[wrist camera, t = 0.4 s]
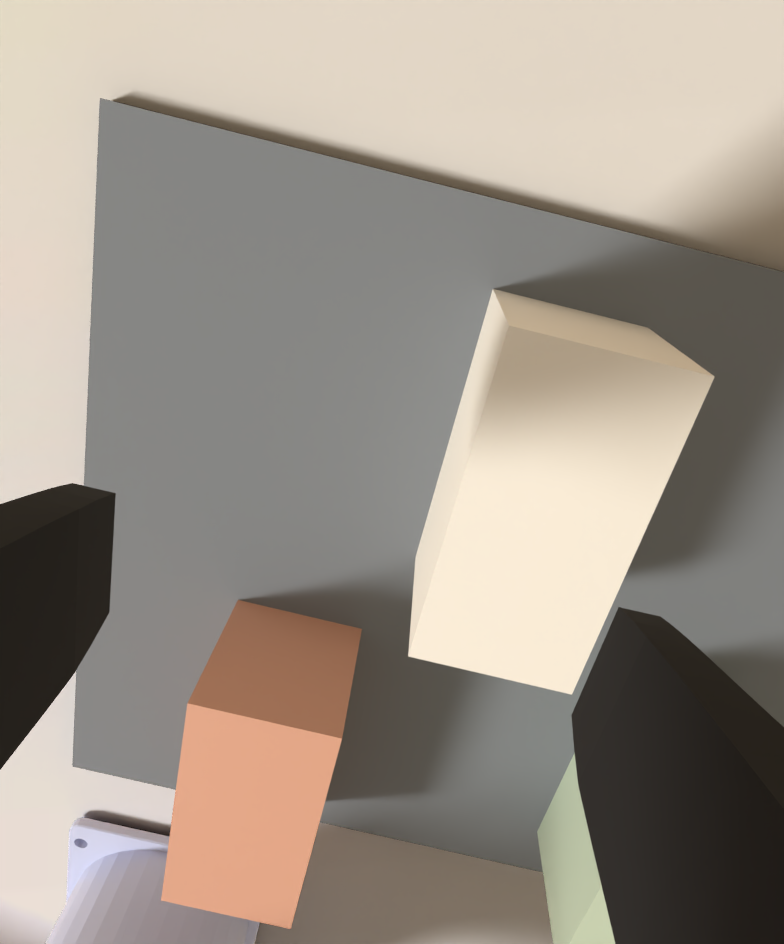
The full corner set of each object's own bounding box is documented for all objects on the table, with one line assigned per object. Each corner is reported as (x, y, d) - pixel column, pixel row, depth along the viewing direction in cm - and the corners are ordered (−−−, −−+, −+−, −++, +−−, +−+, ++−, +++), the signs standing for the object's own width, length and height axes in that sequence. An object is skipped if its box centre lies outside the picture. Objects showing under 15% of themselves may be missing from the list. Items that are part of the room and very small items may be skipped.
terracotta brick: (316, 801, 24) (290, 929, 20) (208, 777, 24) (161, 900, 20) (361, 629, 21) (342, 738, 17) (237, 599, 21) (187, 703, 17)
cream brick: (545, 588, 20) (571, 694, 16) (415, 557, 20) (408, 656, 16) (647, 327, 17) (715, 376, 12) (492, 288, 16) (508, 325, 12)
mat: (694, 894, 26) (699, 907, 25) (79, 755, 25) (72, 766, 24) (1059, 341, 17) (1076, 346, 16) (109, 100, 16) (100, 98, 15)
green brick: (643, 855, 24) (684, 994, 20) (537, 831, 24) (556, 966, 20) (740, 690, 21) (812, 816, 17) (617, 662, 21) (660, 780, 17)
